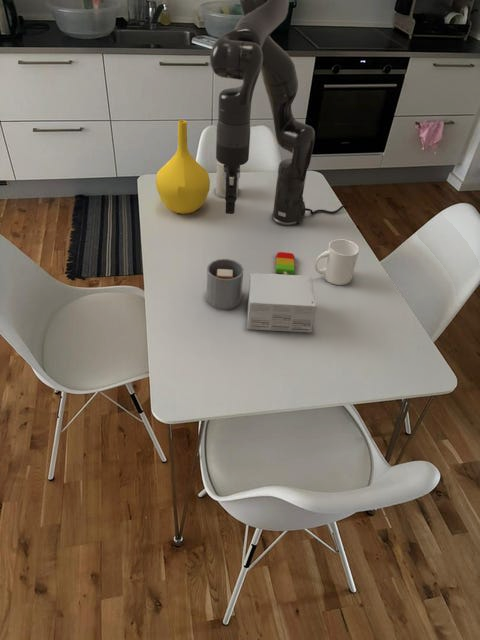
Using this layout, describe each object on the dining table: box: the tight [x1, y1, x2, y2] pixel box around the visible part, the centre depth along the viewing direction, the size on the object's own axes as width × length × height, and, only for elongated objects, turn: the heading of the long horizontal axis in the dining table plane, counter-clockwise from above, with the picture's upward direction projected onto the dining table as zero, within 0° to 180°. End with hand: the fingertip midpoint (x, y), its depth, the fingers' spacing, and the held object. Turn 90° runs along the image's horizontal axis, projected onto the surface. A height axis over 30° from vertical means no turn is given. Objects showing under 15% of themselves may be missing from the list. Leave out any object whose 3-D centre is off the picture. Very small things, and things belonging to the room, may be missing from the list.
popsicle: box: [275, 251, 296, 275], centre depth 152 cm, size 6×15×2 cm, turn 176°
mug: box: [314, 238, 360, 286], centre depth 148 cm, size 9×12×11 cm
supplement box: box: [246, 272, 317, 334], centre depth 133 cm, size 17×13×9 cm
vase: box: [155, 119, 211, 215], centre depth 168 cm, size 18×18×30 cm
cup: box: [215, 160, 239, 198], centre depth 184 cm, size 8×8×12 cm
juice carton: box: [216, 269, 233, 279], centre depth 137 cm, size 4×3×8 cm
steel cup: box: [206, 258, 244, 310], centre depth 137 cm, size 10×10×10 cm
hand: (230, 204), depth 124 cm, fingers open, 8 cm apart
